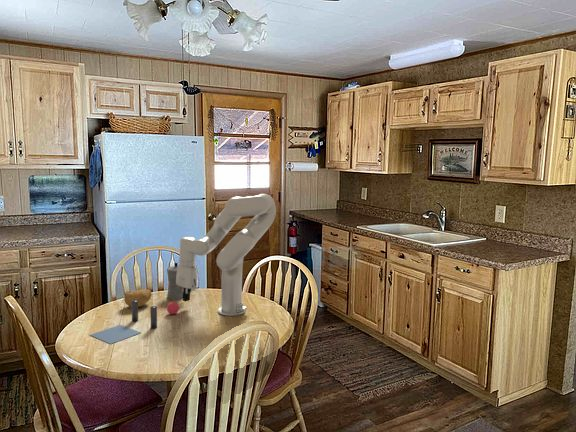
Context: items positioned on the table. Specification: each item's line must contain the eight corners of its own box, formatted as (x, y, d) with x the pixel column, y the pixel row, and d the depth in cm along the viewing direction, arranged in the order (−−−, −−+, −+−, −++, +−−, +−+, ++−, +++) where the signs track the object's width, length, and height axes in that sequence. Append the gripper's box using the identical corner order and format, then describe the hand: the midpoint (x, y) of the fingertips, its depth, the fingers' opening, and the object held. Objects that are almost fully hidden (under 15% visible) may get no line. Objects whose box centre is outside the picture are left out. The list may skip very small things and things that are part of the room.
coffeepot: (160, 296, 230) (160, 262, 228) (175, 292, 238) (175, 259, 235) (179, 302, 221) (179, 267, 219) (194, 298, 228) (194, 264, 226)
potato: (156, 304, 217) (156, 288, 216) (132, 312, 206) (132, 295, 205) (143, 300, 223) (143, 285, 222) (119, 308, 211) (119, 291, 210)
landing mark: (141, 332, 182) (141, 332, 182) (110, 344, 171) (110, 343, 171) (120, 325, 190) (120, 324, 190) (89, 335, 179) (89, 334, 179)
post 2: (158, 327, 189) (158, 306, 188) (153, 329, 187) (153, 308, 186) (154, 325, 190) (154, 305, 189) (149, 327, 188) (149, 307, 187)
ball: (181, 313, 206) (181, 302, 205) (172, 316, 201) (172, 305, 201) (173, 311, 209) (173, 299, 208) (164, 314, 204) (164, 302, 204)
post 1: (139, 320, 196) (139, 300, 195) (134, 322, 194) (134, 302, 193) (135, 319, 197) (135, 299, 196) (130, 320, 195) (130, 301, 194)
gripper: (170, 261, 211) (169, 298, 214) (192, 267, 203) (191, 306, 205) (182, 259, 217) (181, 295, 220) (204, 264, 209) (203, 302, 212)
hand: (186, 300), depth 213 cm, fingers closed
